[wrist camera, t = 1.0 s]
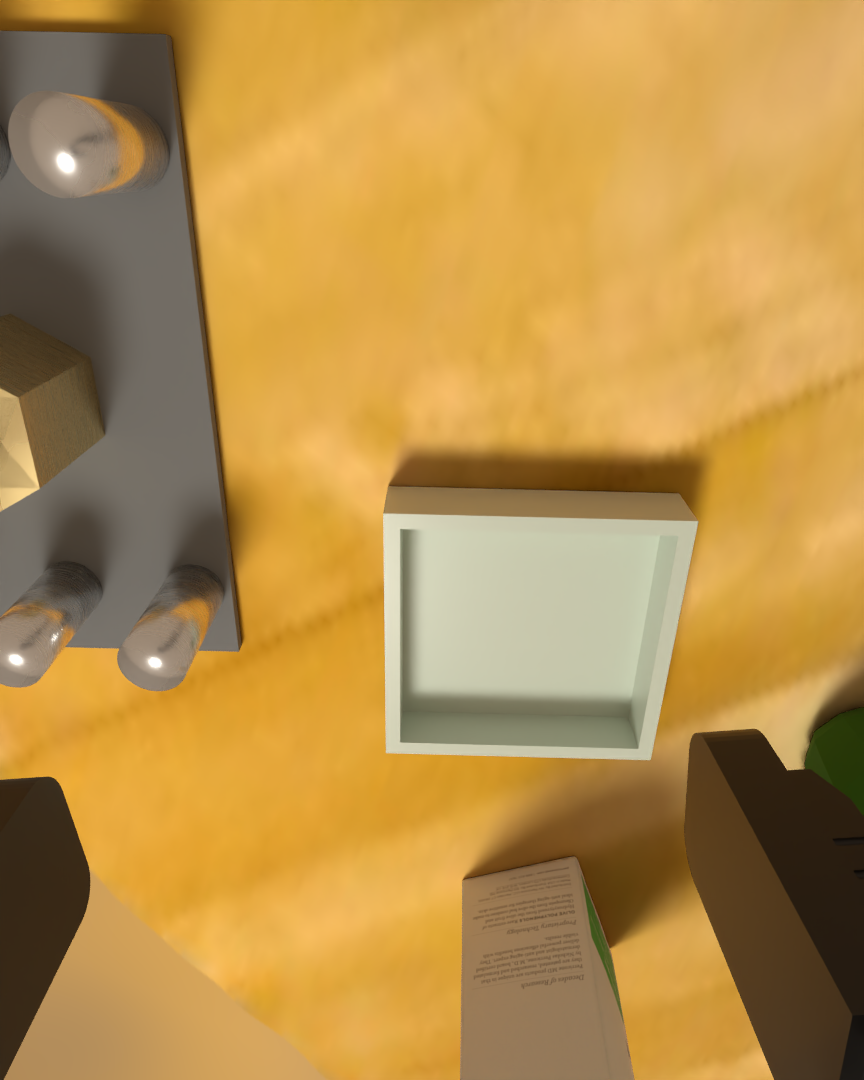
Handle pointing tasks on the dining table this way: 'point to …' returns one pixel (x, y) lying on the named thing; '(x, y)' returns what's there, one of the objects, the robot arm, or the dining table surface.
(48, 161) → the standing spacers
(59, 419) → the yellow faceted hexagonal block
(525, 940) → the skincare box
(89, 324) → the mat
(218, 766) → the dining table surface
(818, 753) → the bell pepper
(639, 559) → the sage parts tray
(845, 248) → the dining table surface
